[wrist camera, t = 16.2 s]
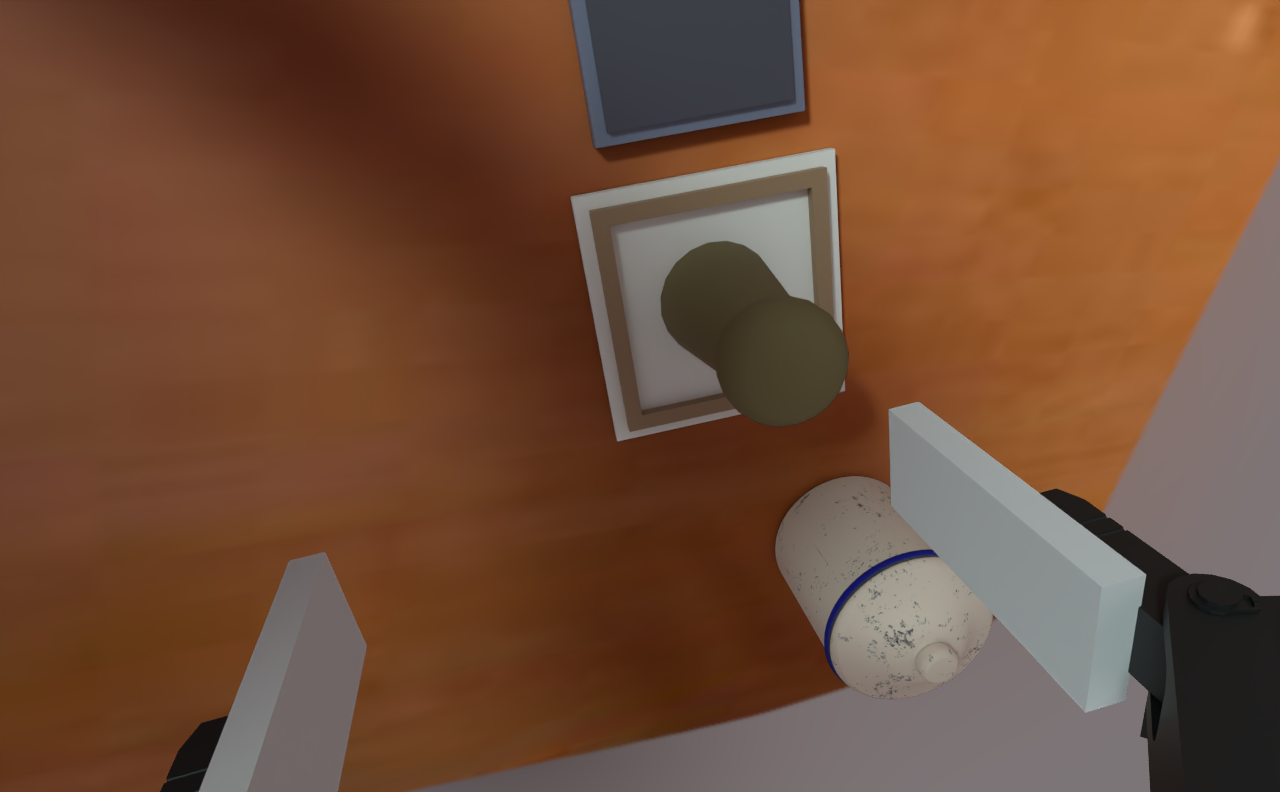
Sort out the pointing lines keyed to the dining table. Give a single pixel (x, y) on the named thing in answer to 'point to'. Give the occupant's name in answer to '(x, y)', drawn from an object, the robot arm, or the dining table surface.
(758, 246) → the board
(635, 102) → the ink pad
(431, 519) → the dining table surface
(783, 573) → the teacup with lid
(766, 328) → the olive knob handle
